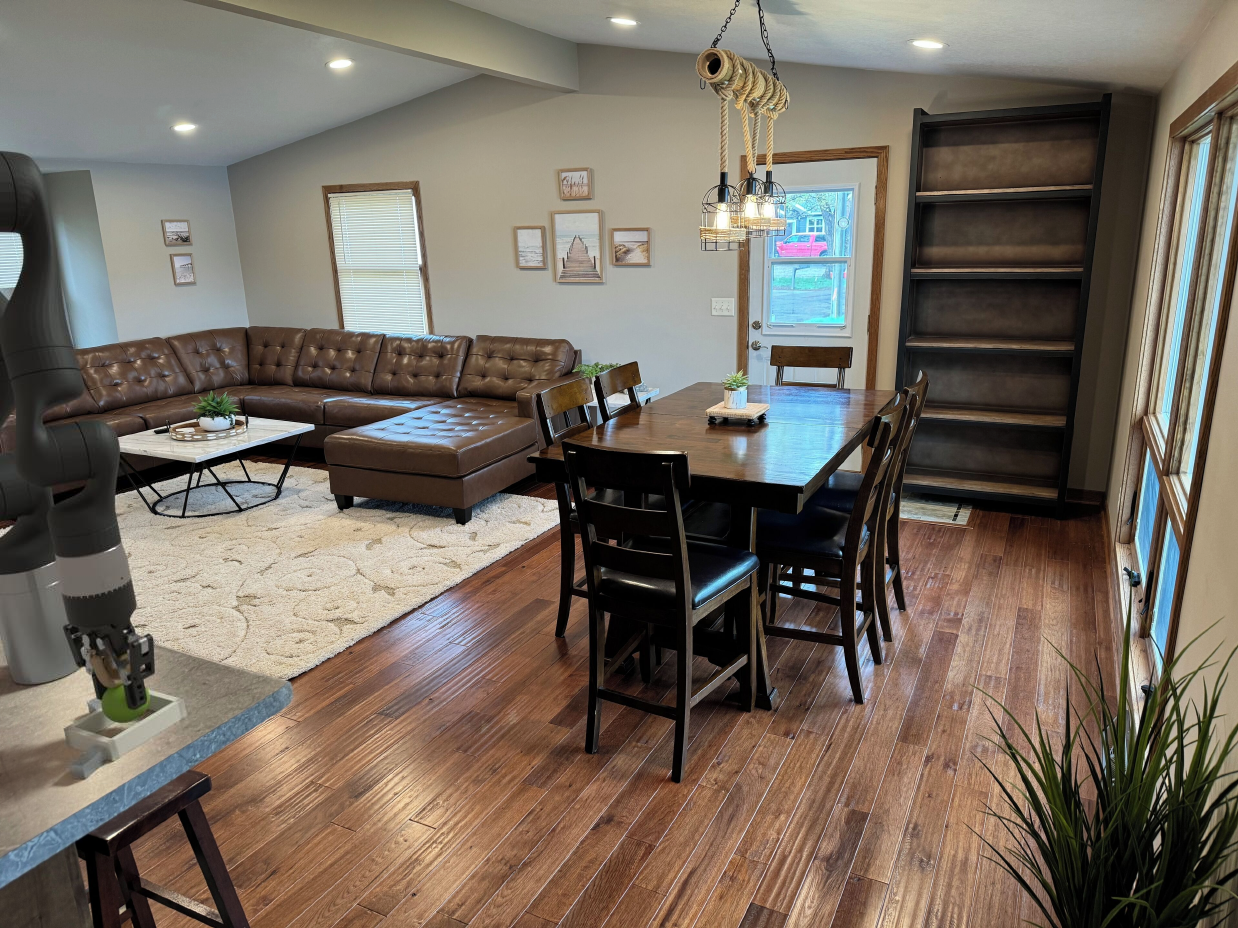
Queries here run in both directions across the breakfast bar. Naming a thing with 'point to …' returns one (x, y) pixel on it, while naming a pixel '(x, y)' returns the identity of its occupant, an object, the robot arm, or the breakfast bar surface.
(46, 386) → the robot arm
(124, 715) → the snail figurine
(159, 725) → the white rectangular frame piece
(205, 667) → the breakfast bar surface
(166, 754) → the breakfast bar surface
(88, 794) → the breakfast bar surface
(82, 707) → the breakfast bar surface
